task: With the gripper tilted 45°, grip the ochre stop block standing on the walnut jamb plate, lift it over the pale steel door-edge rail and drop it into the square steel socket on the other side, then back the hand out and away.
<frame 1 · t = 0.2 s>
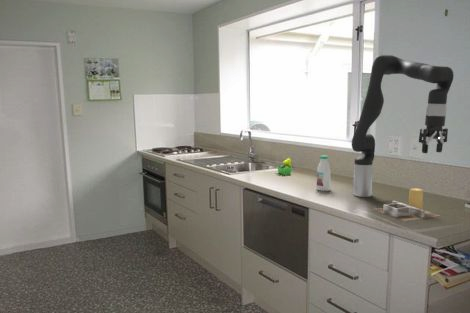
hand: (431, 152, 168), 29 cm above the worktop, tool pointing down, fingers open, 8 cm apart
milk bottle: (323, 190, 228), on the worktop
stop block: (415, 210, 179), point 1 cm above the worktop, touching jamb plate
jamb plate: (405, 214, 177), on the worktop
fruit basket: (285, 174, 278), on the worktop
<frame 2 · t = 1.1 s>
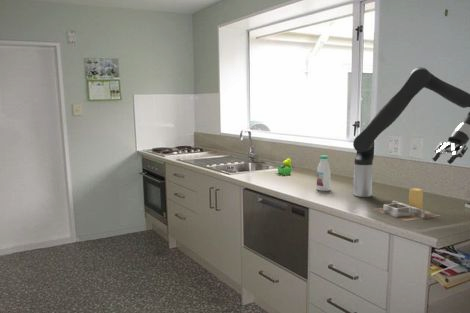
hand: (441, 161, 180), 23 cm above the worktop, tool tilted 45°, fingers open, 8 cm apart
nothing on the worktop moved.
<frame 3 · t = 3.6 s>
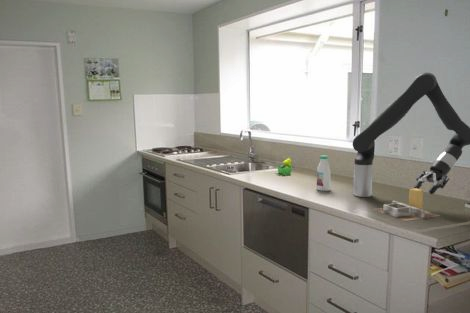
hand: (422, 191, 179), 10 cm above the worktop, tool tilted 45°, fingers open, 8 cm apart
nothing on the worktop moved.
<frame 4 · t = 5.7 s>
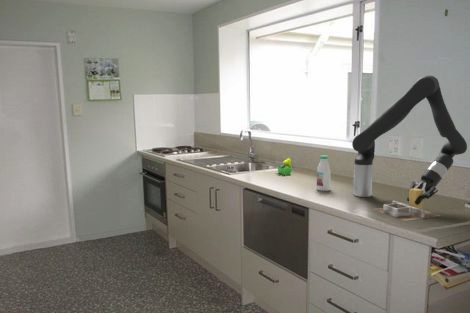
hand: (412, 202, 177), 5 cm above the worktop, tool tilted 45°, fingers closed on stop block, 4 cm apart
stop block: (415, 210, 179), point 1 cm above the worktop, touching gripper, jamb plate
everything else where it was.
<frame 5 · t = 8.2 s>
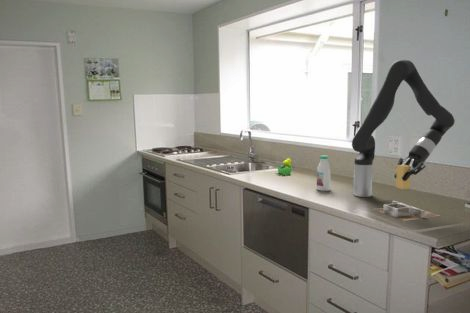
hand: (399, 178, 173), 17 cm above the worktop, tool tilted 45°, fingers closed on stop block, 4 cm apart
stop block: (402, 187, 175), point 13 cm above the worktop, touching gripper
everything else where it was.
when the fingers open (7 cm above the worktop, at t = 10.8 s): stop block drops 1 cm, resting on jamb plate.
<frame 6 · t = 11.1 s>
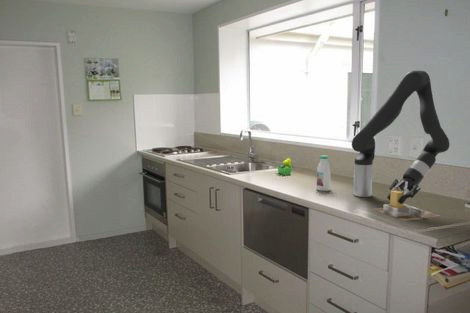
hand: (394, 200, 174), 7 cm above the worktop, tool tilted 45°, fingers open, 6 cm apart
stop block: (396, 213, 175), point 1 cm above the worktop, touching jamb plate
everything else where it was.
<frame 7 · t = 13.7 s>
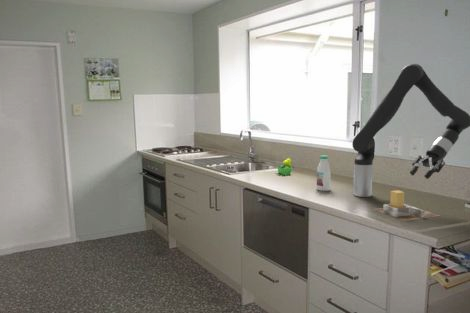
hand: (418, 175, 177), 17 cm above the worktop, tool tilted 45°, fingers open, 8 cm apart
nothing on the worktop moved.
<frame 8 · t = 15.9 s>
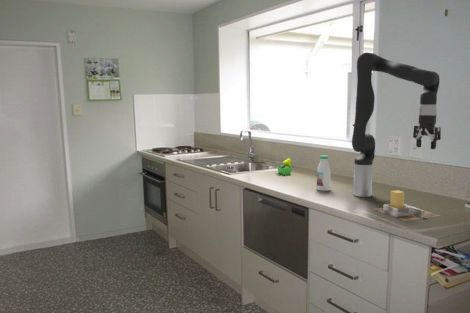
hand: (425, 148, 188), 28 cm above the worktop, tool pointing down, fingers open, 8 cm apart
nothing on the worktop moved.
at the end: stop block 0.1 cm from the target spot on the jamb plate, point 1.0 cm above the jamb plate's base; stop block tilted 0°; the gripper is holding nothing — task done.
